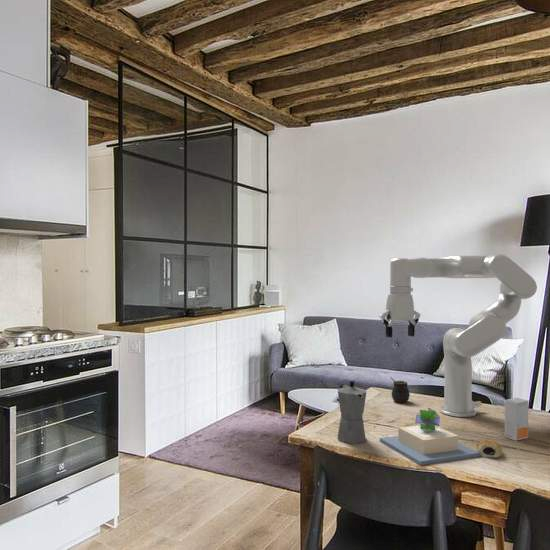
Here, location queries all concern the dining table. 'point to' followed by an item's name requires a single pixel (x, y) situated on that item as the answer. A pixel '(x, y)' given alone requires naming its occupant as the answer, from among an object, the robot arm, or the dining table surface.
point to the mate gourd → (400, 391)
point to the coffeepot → (351, 414)
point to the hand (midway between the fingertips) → (400, 336)
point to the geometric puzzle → (428, 419)
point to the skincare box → (516, 419)
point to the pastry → (489, 449)
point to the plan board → (429, 457)
